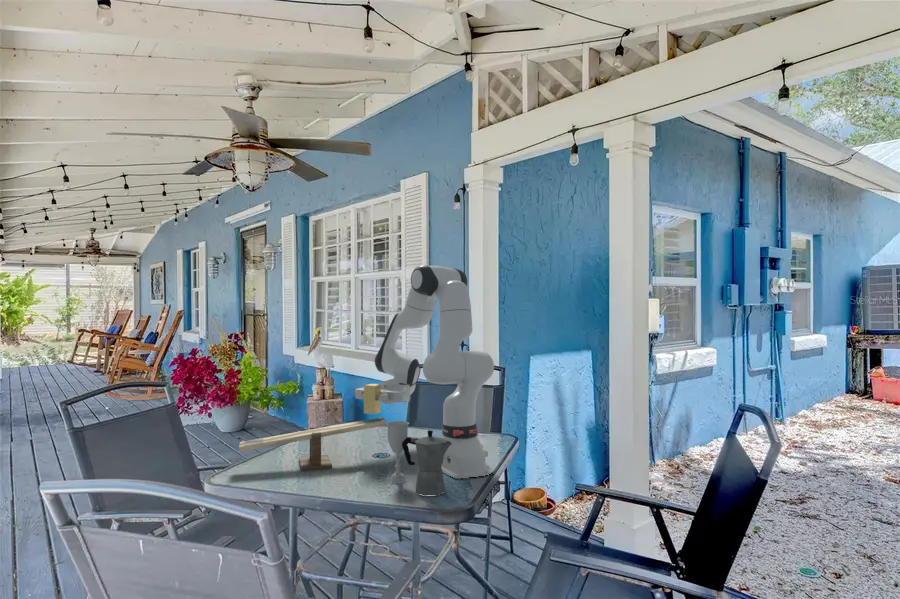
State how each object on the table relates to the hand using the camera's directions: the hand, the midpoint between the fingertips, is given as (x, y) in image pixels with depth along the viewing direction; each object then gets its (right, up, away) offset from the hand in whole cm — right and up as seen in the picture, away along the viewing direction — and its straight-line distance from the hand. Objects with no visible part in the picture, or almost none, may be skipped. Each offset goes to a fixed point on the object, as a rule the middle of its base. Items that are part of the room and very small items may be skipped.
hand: (371, 397), depth 193 cm
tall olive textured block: (0, -6, +1) cm, 6 cm away
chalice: (+12, -22, -24) cm, 35 cm away
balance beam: (-19, -12, -6) cm, 23 cm away
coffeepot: (+21, -22, -34) cm, 45 cm away
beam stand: (-18, -22, -6) cm, 29 cm away
